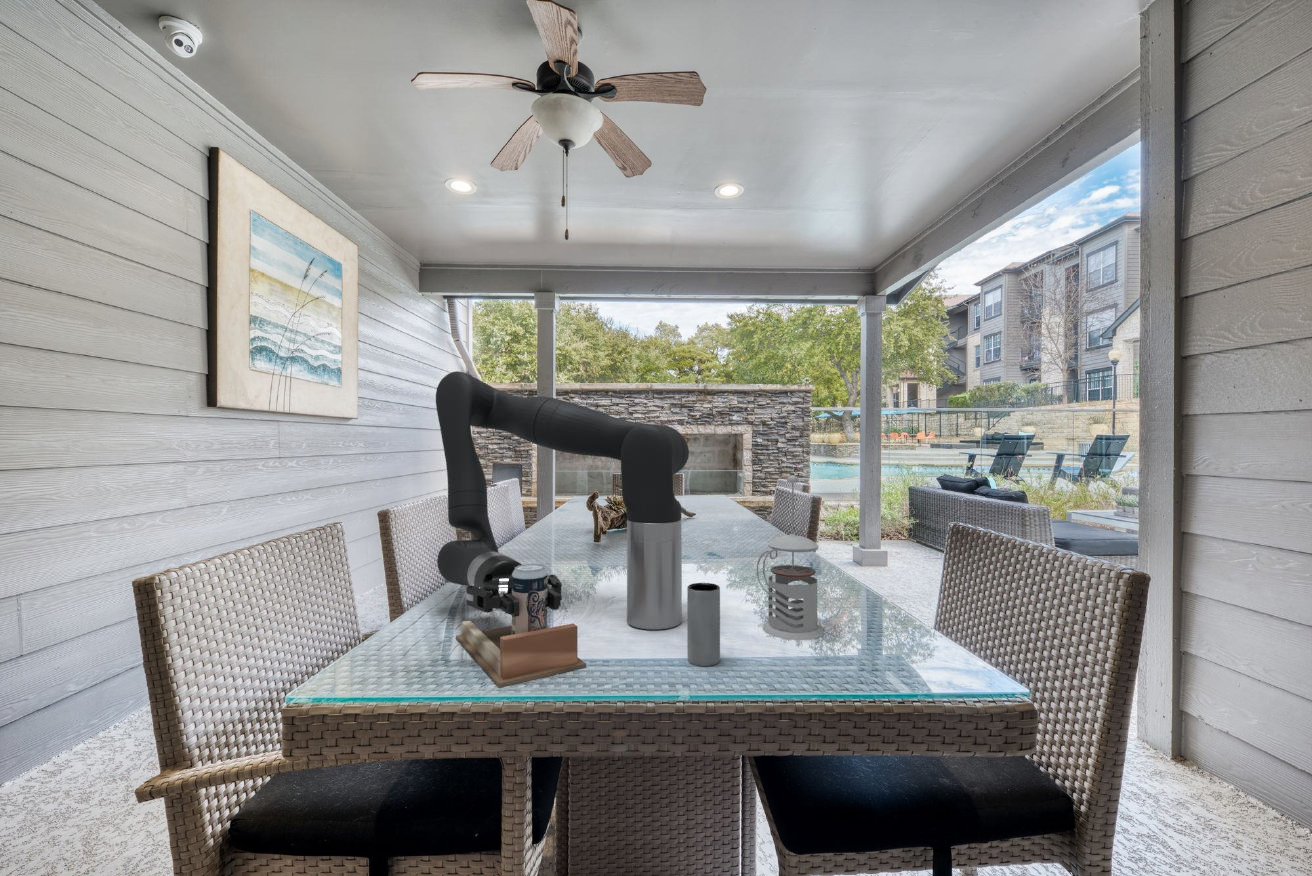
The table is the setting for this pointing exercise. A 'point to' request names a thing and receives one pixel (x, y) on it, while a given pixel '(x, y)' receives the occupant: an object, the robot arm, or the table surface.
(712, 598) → the gray cylindrical tube
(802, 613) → the french press
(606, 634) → the table surface
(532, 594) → the beer can
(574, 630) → the keeper track
